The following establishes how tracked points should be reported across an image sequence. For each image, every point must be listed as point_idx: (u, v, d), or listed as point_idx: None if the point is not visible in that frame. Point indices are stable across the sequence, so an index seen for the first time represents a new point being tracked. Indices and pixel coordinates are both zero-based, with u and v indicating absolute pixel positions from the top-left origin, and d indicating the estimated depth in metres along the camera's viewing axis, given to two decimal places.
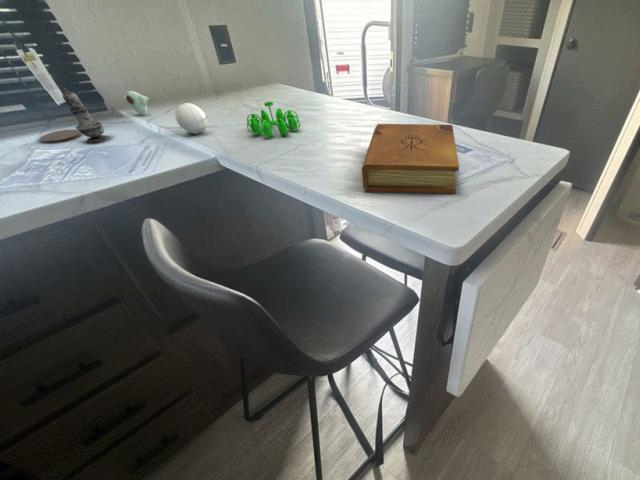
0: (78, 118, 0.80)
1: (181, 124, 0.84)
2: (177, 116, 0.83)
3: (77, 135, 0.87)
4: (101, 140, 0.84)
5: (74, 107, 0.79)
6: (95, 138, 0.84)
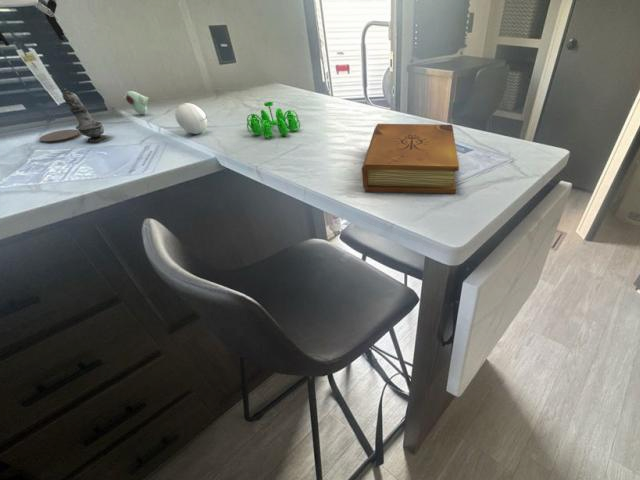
0: (78, 118, 0.80)
1: (181, 124, 0.84)
2: (177, 116, 0.83)
3: (77, 135, 0.87)
4: (101, 140, 0.84)
5: (74, 107, 0.79)
6: (95, 138, 0.84)
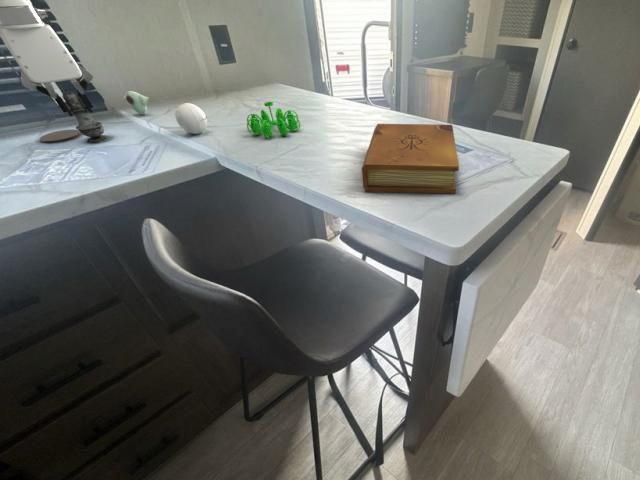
0: (78, 118, 0.80)
1: (181, 124, 0.84)
2: (177, 116, 0.83)
3: (77, 135, 0.87)
4: (101, 140, 0.84)
5: (74, 107, 0.79)
6: (95, 138, 0.84)
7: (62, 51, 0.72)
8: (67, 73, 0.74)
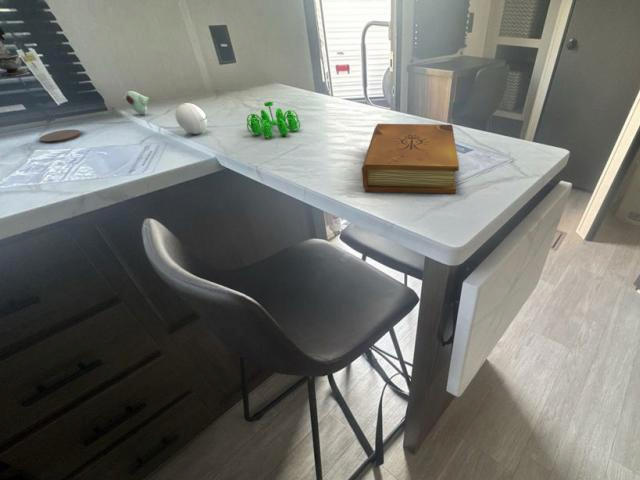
0: None
1: (181, 124, 0.84)
2: (177, 116, 0.83)
3: (77, 135, 0.87)
4: (17, 73, 0.75)
5: None
6: (10, 71, 0.75)
7: None
8: None
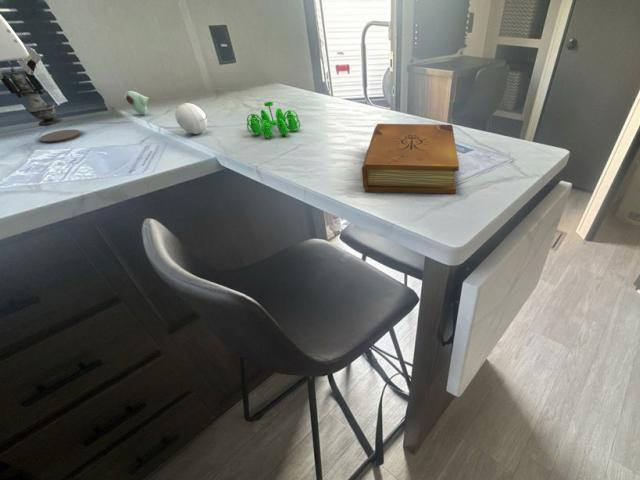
0: (28, 99, 0.79)
1: (181, 124, 0.84)
2: (177, 116, 0.83)
3: (77, 135, 0.87)
4: (53, 123, 0.83)
5: (22, 88, 0.78)
6: (47, 121, 0.83)
7: (5, 30, 0.71)
8: (12, 53, 0.73)
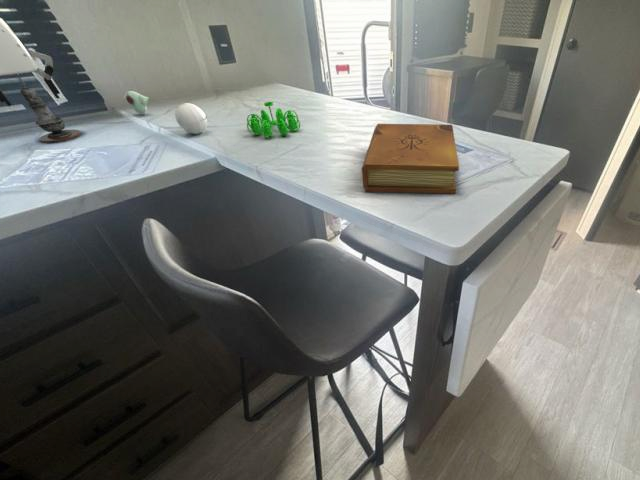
0: (37, 113, 0.81)
1: (181, 124, 0.84)
2: (177, 116, 0.83)
3: (77, 135, 0.87)
4: (61, 135, 0.85)
5: (32, 102, 0.80)
6: (56, 133, 0.85)
7: (15, 44, 0.73)
8: (21, 66, 0.75)
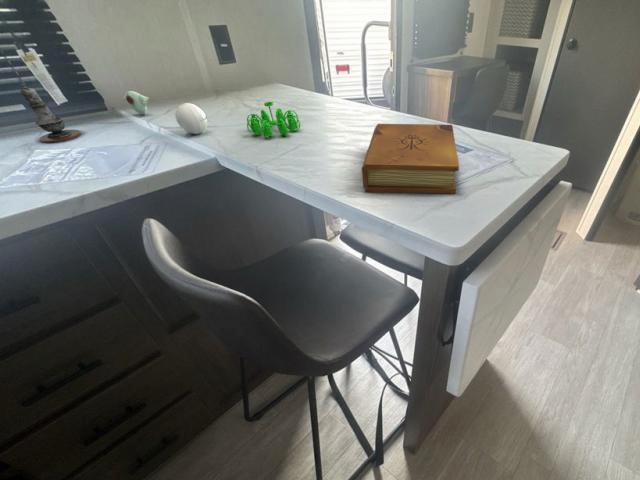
0: (37, 113, 0.81)
1: (181, 124, 0.84)
2: (177, 116, 0.83)
3: (77, 135, 0.87)
4: (61, 135, 0.85)
5: (32, 102, 0.80)
6: (56, 133, 0.85)
7: None
8: None
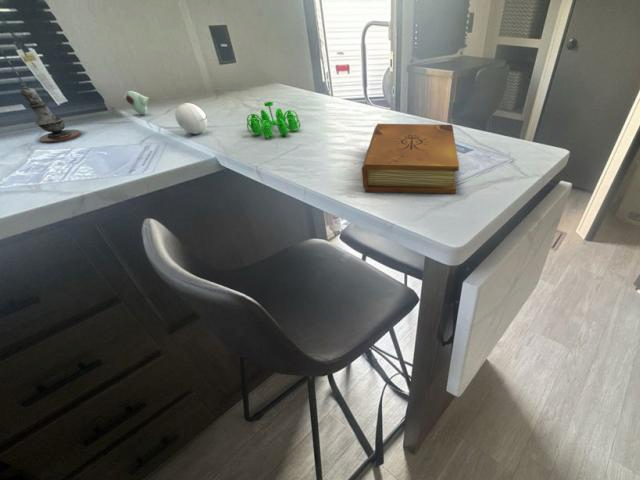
0: (37, 113, 0.81)
1: (181, 124, 0.84)
2: (177, 116, 0.83)
3: (77, 135, 0.87)
4: (61, 135, 0.85)
5: (32, 102, 0.80)
6: (56, 133, 0.85)
7: None
8: None
